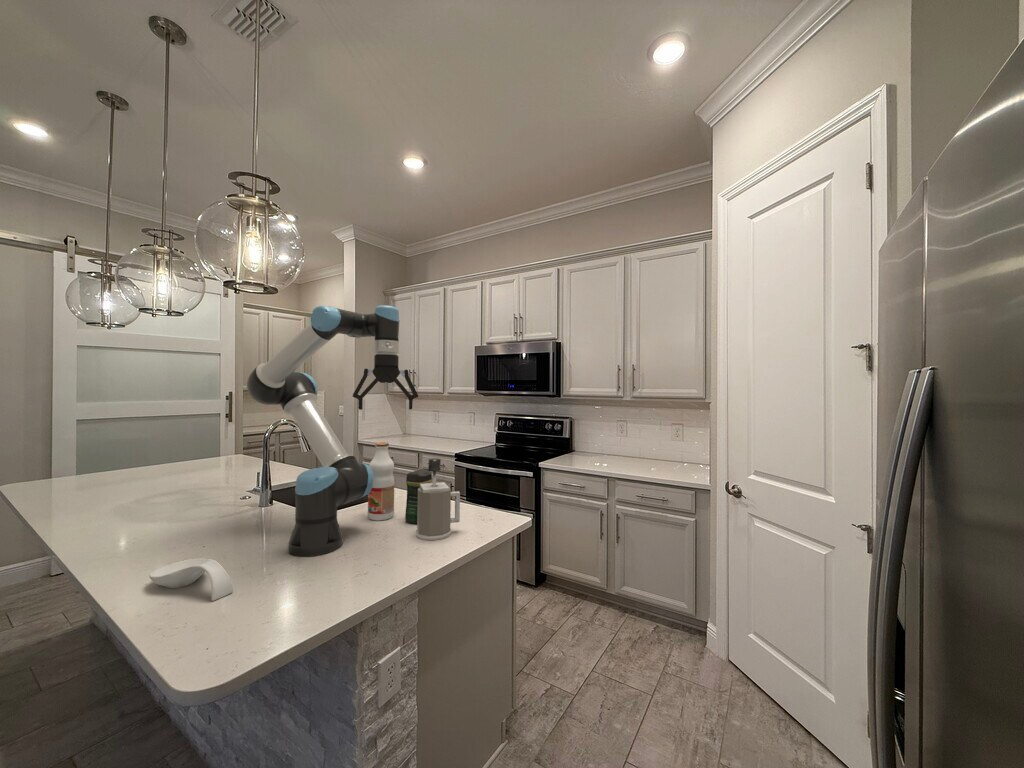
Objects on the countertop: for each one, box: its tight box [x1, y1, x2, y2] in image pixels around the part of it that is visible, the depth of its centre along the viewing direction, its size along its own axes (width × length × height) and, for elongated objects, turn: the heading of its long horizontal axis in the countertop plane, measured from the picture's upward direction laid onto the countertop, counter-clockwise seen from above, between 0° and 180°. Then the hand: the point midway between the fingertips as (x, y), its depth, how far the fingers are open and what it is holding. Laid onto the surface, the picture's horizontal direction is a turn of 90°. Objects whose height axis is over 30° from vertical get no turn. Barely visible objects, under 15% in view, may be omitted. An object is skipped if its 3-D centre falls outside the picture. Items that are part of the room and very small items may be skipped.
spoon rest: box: [148, 557, 234, 602], centre depth 103 cm, size 24×12×7 cm, turn 66°
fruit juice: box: [367, 441, 395, 521], centre depth 158 cm, size 9×9×28 cm
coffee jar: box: [404, 468, 433, 524], centre depth 154 cm, size 10×8×19 cm
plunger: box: [427, 457, 442, 487], centre depth 140 cm, size 8×8×20 cm
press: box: [415, 481, 461, 541], centre depth 141 cm, size 14×12×16 cm
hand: (385, 419), depth 135 cm, fingers open, 13 cm apart
